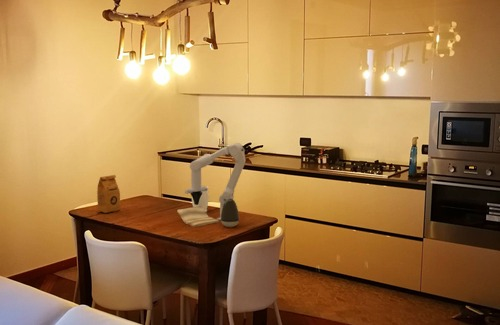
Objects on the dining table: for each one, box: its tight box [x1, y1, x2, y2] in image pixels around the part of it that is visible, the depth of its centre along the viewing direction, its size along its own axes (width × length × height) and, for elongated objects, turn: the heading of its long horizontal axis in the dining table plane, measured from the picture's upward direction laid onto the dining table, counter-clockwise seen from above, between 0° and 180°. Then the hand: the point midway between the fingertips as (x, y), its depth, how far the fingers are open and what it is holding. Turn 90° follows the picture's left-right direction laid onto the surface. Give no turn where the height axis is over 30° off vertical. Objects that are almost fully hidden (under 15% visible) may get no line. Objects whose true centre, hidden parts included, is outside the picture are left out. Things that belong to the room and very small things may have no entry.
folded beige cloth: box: [185, 216, 220, 228], centre depth 290 cm, size 9×16×1 cm, turn 130°
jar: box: [191, 185, 210, 213], centre depth 316 cm, size 11×10×15 cm
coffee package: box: [96, 174, 122, 214], centre depth 314 cm, size 10×12×22 cm
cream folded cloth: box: [176, 206, 209, 224], centre depth 296 cm, size 9×16×1 cm
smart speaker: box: [220, 198, 240, 228], centre depth 283 cm, size 10×10×15 cm
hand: (196, 204), depth 300 cm, fingers closed
